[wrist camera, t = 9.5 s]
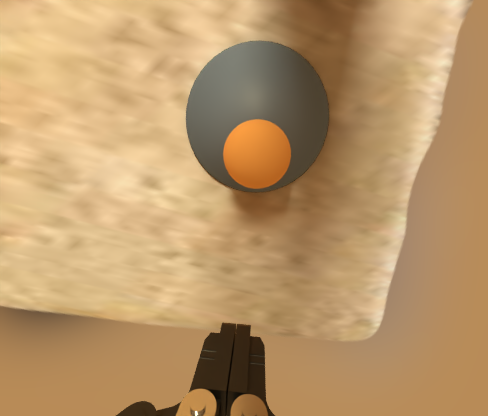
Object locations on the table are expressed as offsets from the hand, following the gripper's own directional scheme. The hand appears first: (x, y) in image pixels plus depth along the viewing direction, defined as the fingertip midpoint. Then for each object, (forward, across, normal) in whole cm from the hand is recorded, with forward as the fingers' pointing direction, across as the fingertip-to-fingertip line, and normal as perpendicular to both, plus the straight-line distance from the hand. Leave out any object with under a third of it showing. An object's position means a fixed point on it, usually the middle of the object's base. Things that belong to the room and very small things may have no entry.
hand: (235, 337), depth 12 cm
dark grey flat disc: (+14, 0, -13) cm, 19 cm away
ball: (+11, 0, -9) cm, 14 cm away
